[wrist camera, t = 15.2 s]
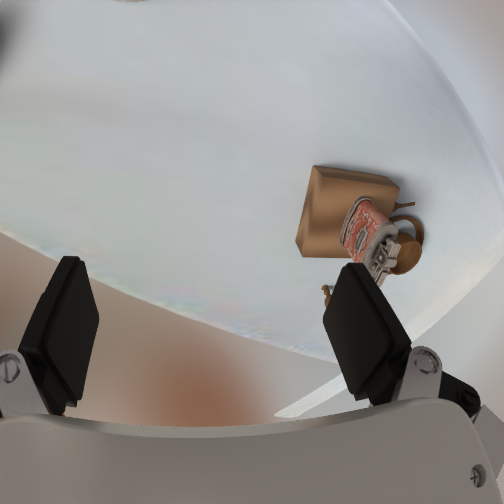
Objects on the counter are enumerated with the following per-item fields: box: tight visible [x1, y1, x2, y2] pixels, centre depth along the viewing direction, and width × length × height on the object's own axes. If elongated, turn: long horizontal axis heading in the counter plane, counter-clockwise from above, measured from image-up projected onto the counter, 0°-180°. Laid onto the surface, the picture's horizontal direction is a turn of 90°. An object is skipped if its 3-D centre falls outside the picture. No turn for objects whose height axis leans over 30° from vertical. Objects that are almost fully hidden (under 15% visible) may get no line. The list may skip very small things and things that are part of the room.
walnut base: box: [295, 166, 400, 258], centre depth 41 cm, size 12×12×4 cm
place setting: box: [322, 202, 424, 308], centre depth 46 cm, size 18×20×6 cm
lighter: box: [340, 196, 401, 287], centre depth 35 cm, size 8×3×10 cm, turn 169°
